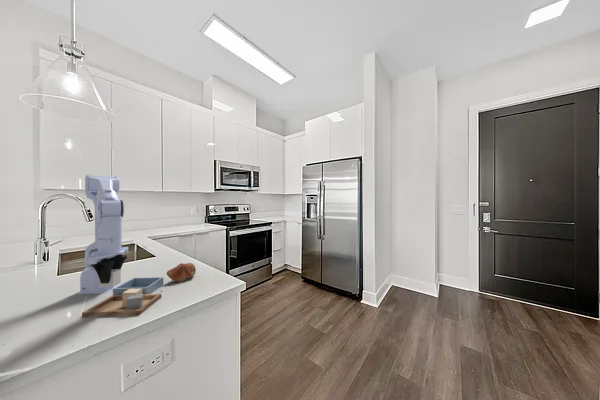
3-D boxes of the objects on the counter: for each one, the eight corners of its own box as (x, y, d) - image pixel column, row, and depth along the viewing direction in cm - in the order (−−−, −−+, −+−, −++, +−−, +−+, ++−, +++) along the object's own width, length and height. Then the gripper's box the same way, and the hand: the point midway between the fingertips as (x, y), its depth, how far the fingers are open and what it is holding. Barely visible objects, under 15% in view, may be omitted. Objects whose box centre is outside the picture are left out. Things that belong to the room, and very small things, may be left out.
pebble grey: (99, 287, 69) (99, 272, 69) (107, 283, 72) (107, 269, 72) (113, 286, 69) (113, 272, 70) (120, 282, 73) (120, 269, 73)
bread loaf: (167, 278, 88) (173, 254, 94) (158, 283, 93) (165, 260, 99) (198, 282, 96) (202, 260, 102) (189, 287, 101) (193, 265, 107)
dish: (112, 298, 78) (112, 288, 78) (133, 286, 89) (134, 277, 89) (146, 298, 79) (146, 288, 79) (163, 285, 90) (163, 277, 90)
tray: (81, 318, 65) (81, 312, 65) (112, 300, 77) (112, 295, 77) (139, 316, 66) (140, 310, 66) (161, 298, 78) (161, 293, 78)
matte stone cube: (126, 312, 67) (126, 299, 67) (129, 308, 70) (129, 295, 70) (141, 310, 69) (141, 297, 69) (143, 306, 72) (143, 293, 72)
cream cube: (122, 307, 71) (122, 292, 71) (129, 302, 74) (129, 288, 74) (135, 306, 71) (135, 292, 71) (141, 302, 75) (142, 288, 75)
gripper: (105, 242, 64) (105, 289, 64) (137, 234, 78) (137, 273, 78) (79, 242, 63) (78, 290, 63) (116, 234, 78) (116, 273, 78)
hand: (109, 280), depth 71 cm, fingers closed on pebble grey, 3 cm apart
